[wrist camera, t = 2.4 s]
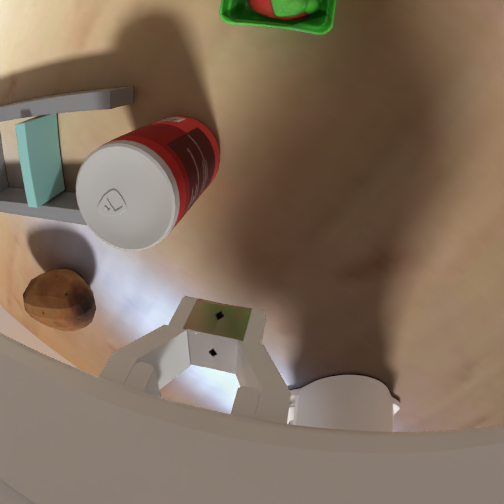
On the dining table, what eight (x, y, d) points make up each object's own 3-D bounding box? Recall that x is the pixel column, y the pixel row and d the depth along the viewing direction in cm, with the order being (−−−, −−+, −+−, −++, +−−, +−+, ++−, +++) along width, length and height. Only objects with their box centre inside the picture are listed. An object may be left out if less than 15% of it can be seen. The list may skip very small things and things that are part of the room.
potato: (122, 308, 41) (94, 349, 34) (57, 300, 44) (29, 334, 37) (103, 261, 37) (68, 301, 31) (38, 260, 40) (5, 292, 33)
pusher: (65, 189, 32) (37, 207, 28) (55, 188, 32) (28, 206, 28) (56, 112, 27) (24, 123, 23) (46, 113, 28) (15, 124, 23)
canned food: (130, 155, 29) (60, 199, 20) (180, 96, 26) (112, 115, 16) (183, 208, 31) (132, 271, 22) (240, 155, 28) (200, 204, 18)
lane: (139, 212, 33) (92, 258, 25) (5, 197, 35) (-39, 227, 28) (133, 86, 25) (72, 99, 18) (-9, 107, 28) (-60, 127, 20)
